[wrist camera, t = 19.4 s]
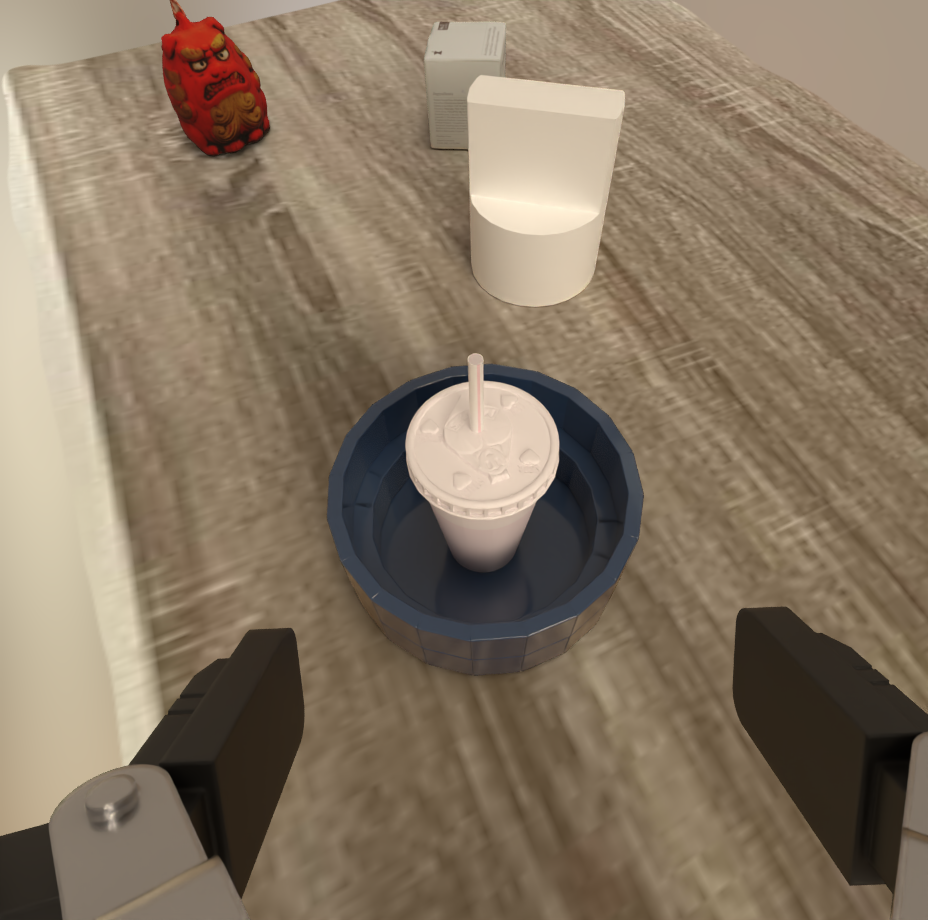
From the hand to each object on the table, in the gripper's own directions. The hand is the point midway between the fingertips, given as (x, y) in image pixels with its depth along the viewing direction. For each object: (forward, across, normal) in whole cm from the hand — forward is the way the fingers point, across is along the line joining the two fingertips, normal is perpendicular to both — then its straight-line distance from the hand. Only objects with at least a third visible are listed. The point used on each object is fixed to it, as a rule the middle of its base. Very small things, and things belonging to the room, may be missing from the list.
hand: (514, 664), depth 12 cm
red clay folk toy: (+51, +20, -22) cm, 60 cm away
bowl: (+23, 0, +6) cm, 23 cm away
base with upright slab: (+38, -5, -9) cm, 40 cm away
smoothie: (+22, 0, +6) cm, 23 cm away
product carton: (+51, 0, -21) cm, 55 cm away
